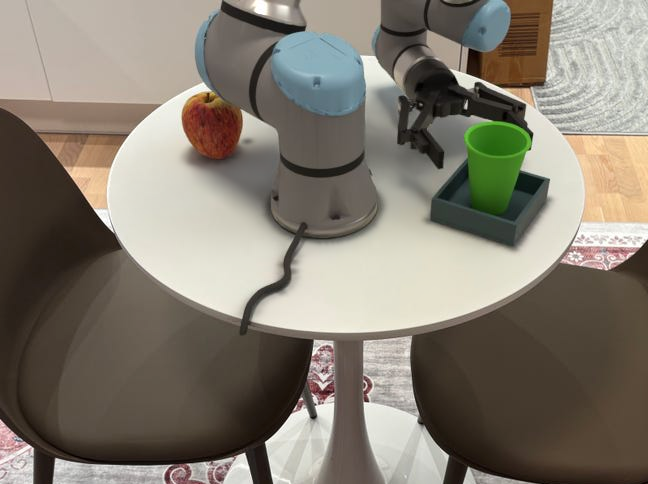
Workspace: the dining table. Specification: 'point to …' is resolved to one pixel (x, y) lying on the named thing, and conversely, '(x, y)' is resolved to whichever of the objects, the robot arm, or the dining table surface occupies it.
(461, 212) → the holder
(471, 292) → the dining table surface
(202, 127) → the apple
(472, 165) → the cup
